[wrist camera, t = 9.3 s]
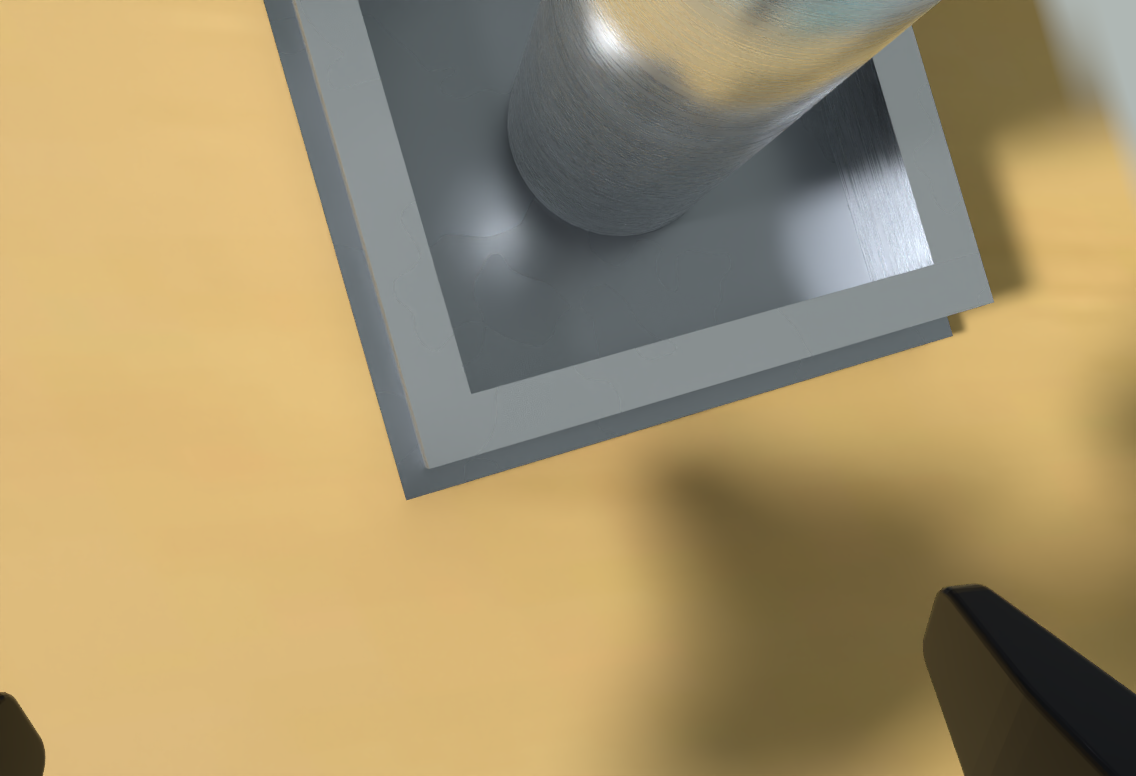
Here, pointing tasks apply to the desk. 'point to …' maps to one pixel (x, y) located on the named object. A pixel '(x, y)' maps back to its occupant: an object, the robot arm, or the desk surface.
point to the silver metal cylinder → (674, 95)
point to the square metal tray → (602, 244)
